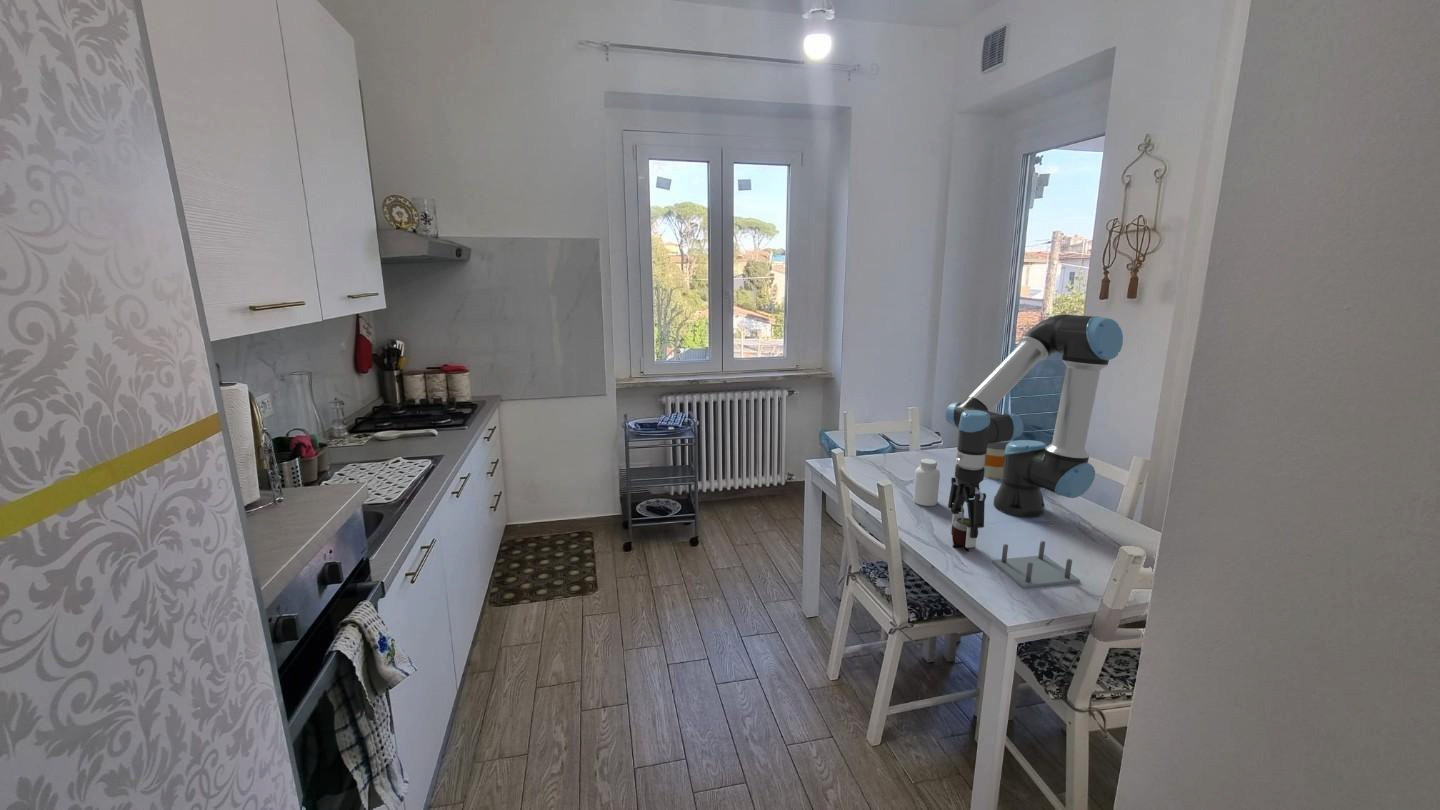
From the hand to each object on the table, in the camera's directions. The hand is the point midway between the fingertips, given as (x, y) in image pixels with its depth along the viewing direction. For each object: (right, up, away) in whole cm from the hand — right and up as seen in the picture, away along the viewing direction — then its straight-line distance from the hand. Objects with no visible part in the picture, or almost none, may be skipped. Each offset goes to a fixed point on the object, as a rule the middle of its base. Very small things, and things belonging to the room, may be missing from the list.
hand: (962, 540), depth 166 cm
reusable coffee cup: (+35, +12, +56) cm, 67 cm away
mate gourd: (0, -2, 0) cm, 2 cm away
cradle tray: (+13, -5, -13) cm, 20 cm away
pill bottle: (+1, +5, +32) cm, 32 cm away
